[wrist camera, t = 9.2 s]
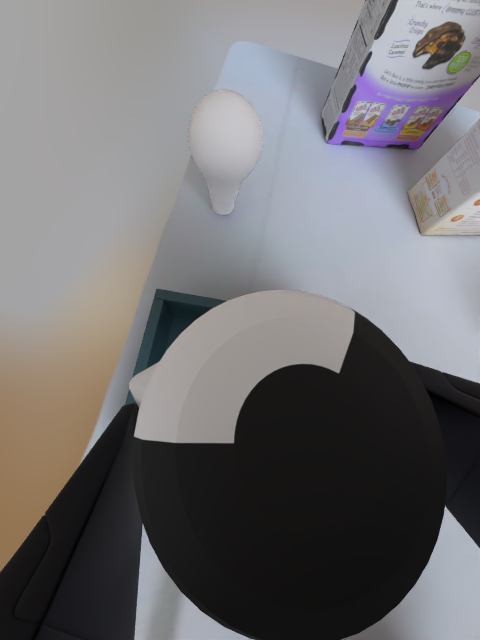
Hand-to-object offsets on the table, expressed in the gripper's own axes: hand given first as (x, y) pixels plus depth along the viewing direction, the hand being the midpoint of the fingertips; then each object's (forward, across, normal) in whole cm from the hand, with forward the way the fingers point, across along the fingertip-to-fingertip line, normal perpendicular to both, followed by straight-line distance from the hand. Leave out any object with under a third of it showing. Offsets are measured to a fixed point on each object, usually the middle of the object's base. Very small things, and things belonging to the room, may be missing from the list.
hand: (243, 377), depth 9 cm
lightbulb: (+22, -5, -4) cm, 23 cm away
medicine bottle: (+4, 0, +6) cm, 7 cm away
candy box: (+29, -29, -10) cm, 42 cm away
